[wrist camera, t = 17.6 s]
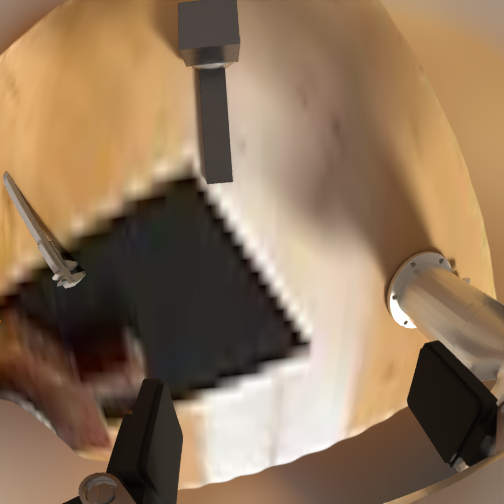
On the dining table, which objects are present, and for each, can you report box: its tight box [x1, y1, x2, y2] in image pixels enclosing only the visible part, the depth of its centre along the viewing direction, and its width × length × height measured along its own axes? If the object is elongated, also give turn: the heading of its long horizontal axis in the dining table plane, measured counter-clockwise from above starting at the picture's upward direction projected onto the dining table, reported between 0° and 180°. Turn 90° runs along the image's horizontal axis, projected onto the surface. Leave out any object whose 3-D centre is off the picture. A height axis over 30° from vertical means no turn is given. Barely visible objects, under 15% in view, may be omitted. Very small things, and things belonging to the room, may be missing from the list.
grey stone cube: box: [178, 0, 240, 67], centre depth 28 cm, size 6×6×6 cm
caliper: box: [3, 172, 86, 288], centre depth 34 cm, size 20×1×6 cm, turn 40°
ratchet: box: [192, 36, 240, 184], centre depth 32 cm, size 7×21×5 cm, turn 4°
